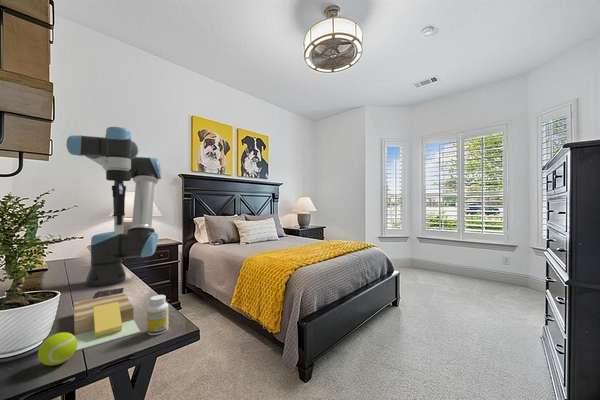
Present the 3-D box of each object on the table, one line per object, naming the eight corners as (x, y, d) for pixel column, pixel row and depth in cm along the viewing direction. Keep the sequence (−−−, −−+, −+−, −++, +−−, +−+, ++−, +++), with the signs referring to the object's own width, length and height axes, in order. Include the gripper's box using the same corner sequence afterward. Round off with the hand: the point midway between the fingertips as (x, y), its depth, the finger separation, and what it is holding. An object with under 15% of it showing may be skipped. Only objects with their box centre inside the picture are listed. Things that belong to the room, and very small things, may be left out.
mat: (74, 336, 72) (74, 335, 72) (133, 320, 81) (133, 319, 81) (75, 351, 64) (75, 350, 64) (140, 332, 74) (140, 331, 74)
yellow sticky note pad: (93, 312, 76) (93, 306, 75) (117, 306, 80) (118, 301, 79) (95, 337, 70) (95, 332, 69) (121, 330, 74) (122, 325, 73)
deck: (73, 314, 86) (73, 302, 86) (124, 303, 95) (124, 292, 95) (74, 335, 72) (74, 321, 72) (133, 320, 81) (133, 307, 82)
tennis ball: (73, 351, 64) (73, 324, 64) (80, 361, 60) (80, 332, 60) (35, 364, 59) (35, 335, 59) (40, 376, 55) (40, 345, 55)
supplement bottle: (154, 326, 77) (154, 293, 77) (172, 326, 77) (172, 293, 77) (142, 335, 72) (143, 300, 72) (161, 336, 72) (162, 300, 72)
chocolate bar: (123, 287, 111) (119, 301, 96) (123, 289, 111) (119, 303, 96) (97, 291, 107) (88, 306, 91) (97, 293, 107) (88, 309, 91)
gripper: (104, 170, 98) (104, 232, 98) (107, 167, 88) (108, 236, 88) (128, 171, 103) (128, 230, 103) (133, 169, 93) (133, 234, 93)
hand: (118, 233), depth 96 cm, fingers closed
